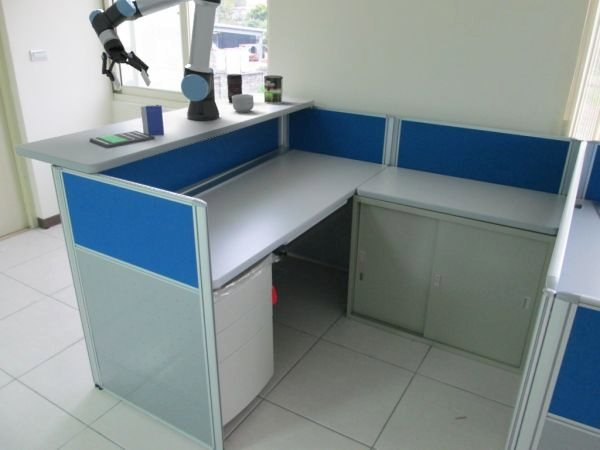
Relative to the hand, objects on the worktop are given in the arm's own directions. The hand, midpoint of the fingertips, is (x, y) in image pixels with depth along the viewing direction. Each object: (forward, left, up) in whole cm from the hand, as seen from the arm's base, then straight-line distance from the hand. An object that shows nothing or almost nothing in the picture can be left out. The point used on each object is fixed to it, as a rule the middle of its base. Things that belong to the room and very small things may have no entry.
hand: (134, 85), depth 207 cm
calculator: (+14, +11, -19) cm, 26 cm away
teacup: (-61, -4, -19) cm, 64 cm away
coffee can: (-90, -12, -19) cm, 93 cm away
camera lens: (-74, -26, -19) cm, 81 cm away
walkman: (0, +11, -19) cm, 22 cm away
